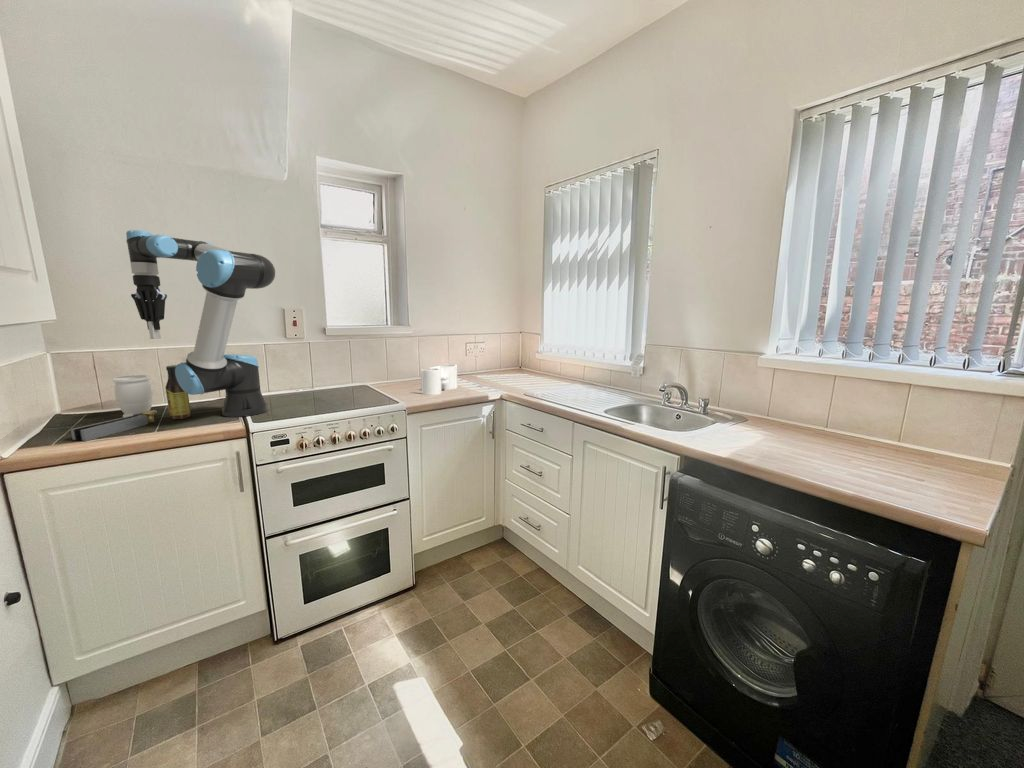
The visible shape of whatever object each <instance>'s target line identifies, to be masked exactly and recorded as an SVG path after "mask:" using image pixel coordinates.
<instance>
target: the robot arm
mask: <svg viewBox="0 0 1024 768" xmlns="http://www.w3.org/2000/svg"><path fill="white" fill-rule="evenodd" d="M125 235H126V240H125V241H126V244H127V245H126V246H127V249H128V254H129V261H130V269H131V273H132V274H133V275H132V282H133V285H134V286H136V290H135V291H136V292H135V293H131V295H130V297H132V299H133V301H134V304H135V306H136V309H137V312H138V314H139V317H140V319H141V320H144V321H145V322H146V325H147V330H148V332H149V338H150V340H157V339H158V340H159V339H161V325H160V324H161V323H160V321H162V320H164V319H165V310H166V308H165V307H166V300H167V298H168V295H167V294H164V293H162V291H161V289H160V288H159V287H161V279H160V276H158V275H159V267H158V260H157V258H159V259H161V258H162V259H172V260H183V261H184V260H185V261H194V262H196V267H195V272H197V274H196V277H197V279H198V281H199V282H200V284H201V286H202V289H203V290H204V291H205V292H206V294H205V297H204V298H205V299H204V303H203V308H202V313H201V317H200V322H199V325H198V330H197V331H198V332H197V336H196V338H195V339H196V340H195V344H194V349H193V350H192V351H190V352H188V354H187V356H186V359H185V362H180V363H178V364H176V365H177V366H176V368H175V375H176V379H177V381H178V383H179V385H180V387H181V388H182V389H183V390H184V391H185V392H186V393H188V395H191V396H193V395H194V396H195V395H196V396H197V395H203V394H209V393H213V392H214V393H215V392H219V391H225V397H224V403H223V407H222V408H221V411H222V416H223V417H228V418H240V417H248V416H250V417H251V416H255V415H259V414H263V413H265V412H268V404H267V402H266V401H265V398H264V396H263V394H262V391H261V383H260V374H259V371H260V370H259V368H260V367H259V361H258V359H257V357H256V356H255V355H249V354H233V353H232V354H229V353H228V354H225V352H226V348H227V344H228V340H229V336H230V331H231V328H232V324H233V319H234V315H235V312H236V307H237V304H238V300H241V299H243V298H244V297H245V294H246V291H247V290H248V289H252V290H253V289H254V290H257V289H258V290H259V289H262V288H263V289H264V288H267V287H268V286H270V285H271V284H272V283H273V282H274V280H275V278H276V269H275V266H274V264H273V263H272V262H271V260H269V259H268V258H267V257H265V256H263V255H261V254H256V253H249V252H248V253H247V252H241V251H233V250H229V249H227V248H222V247H219V246H216V245H213V243H211V242H206V241H202V240H192V239H182V238H179V237H176V238H175V237H171V236H169V235H164V234H155V235H154V234H153V233H152V232H150V231H146V230H133V229H131V230H127V231H126V234H125Z"/></svg>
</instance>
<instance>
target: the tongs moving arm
mask: <svg viewBox="0 0 1024 768" xmlns="http://www.w3.org/2000/svg"><path fill="white" fill-rule="evenodd" d="M157 413H158V411H157V410H155V409H153V410H152V409H150V411H144V412H141V413H137V414H133V415H132V416H127V417H123V416H122V417H120V418H119V417H118V418H114V419H110V420H105V421H102V422H96V423H92V424H88V425H83V426H79V427H78V426H77V427H75V428H71V429H70V434H71V439H72V441H79V440H81V435H80V430H82V429H86V428H90V427H94V426H98V425H104V424H108V423H112V422H116V421H120V420H124V419H128V418H132V417H136V416H140V415H157Z"/></svg>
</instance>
